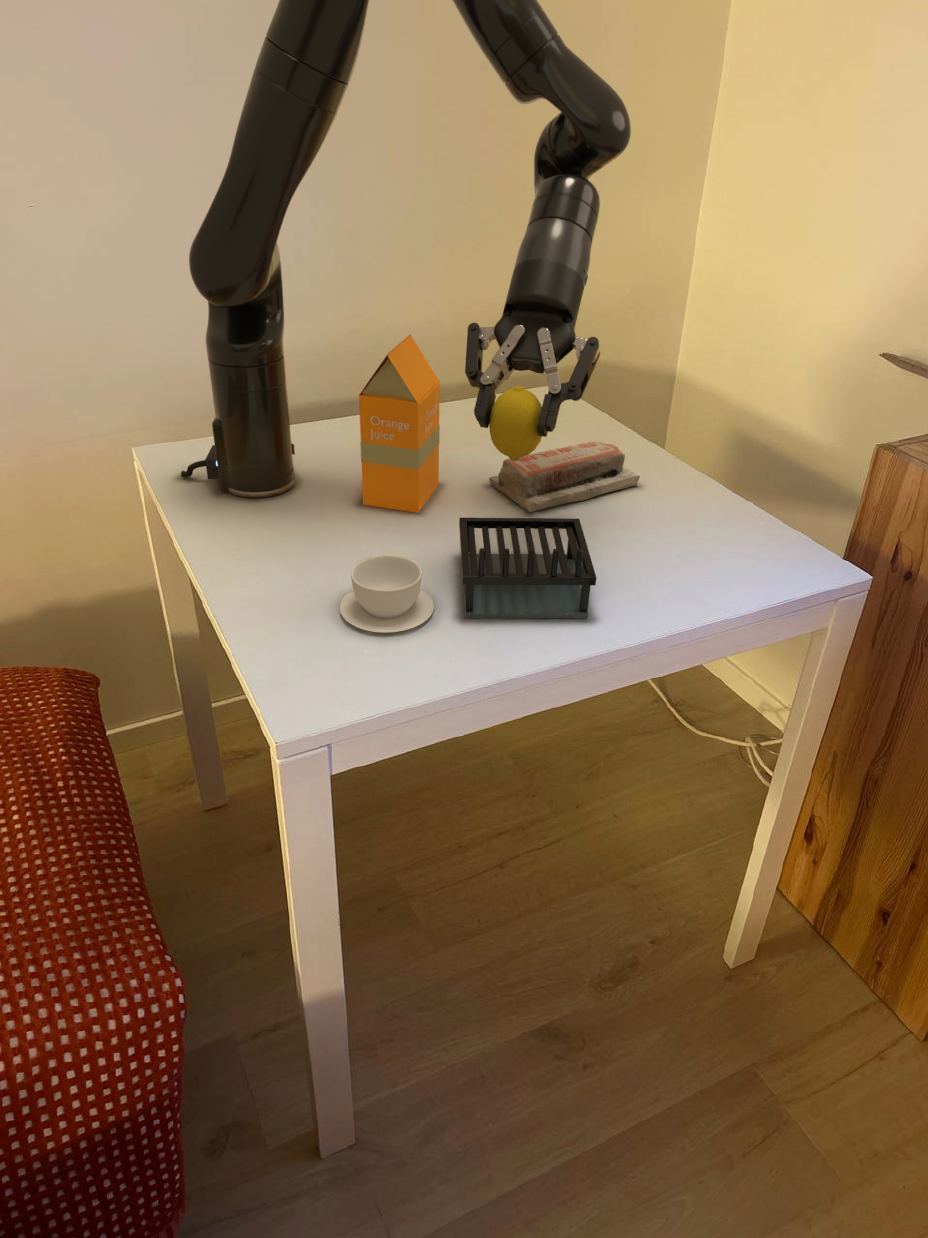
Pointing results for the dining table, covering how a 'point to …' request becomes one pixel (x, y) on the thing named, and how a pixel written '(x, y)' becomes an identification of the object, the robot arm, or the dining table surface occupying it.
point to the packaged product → (564, 475)
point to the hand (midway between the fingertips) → (512, 428)
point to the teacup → (386, 595)
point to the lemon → (515, 423)
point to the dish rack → (525, 570)
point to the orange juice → (400, 431)
